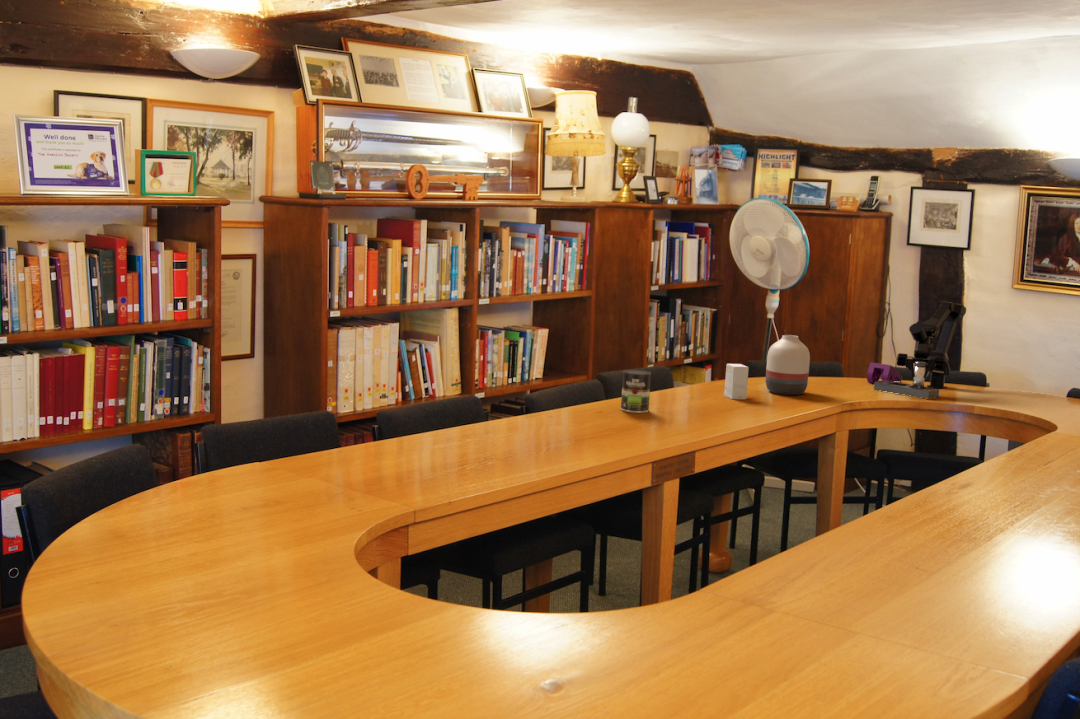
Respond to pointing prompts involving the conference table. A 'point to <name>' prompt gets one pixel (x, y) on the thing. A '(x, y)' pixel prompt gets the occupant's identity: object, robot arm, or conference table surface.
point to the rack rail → (906, 389)
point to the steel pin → (919, 374)
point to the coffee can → (635, 391)
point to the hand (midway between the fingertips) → (919, 377)
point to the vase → (787, 366)
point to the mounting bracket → (882, 373)
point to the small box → (736, 381)
